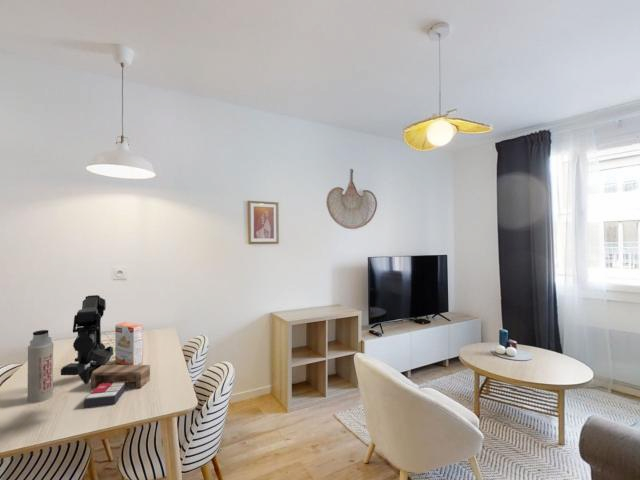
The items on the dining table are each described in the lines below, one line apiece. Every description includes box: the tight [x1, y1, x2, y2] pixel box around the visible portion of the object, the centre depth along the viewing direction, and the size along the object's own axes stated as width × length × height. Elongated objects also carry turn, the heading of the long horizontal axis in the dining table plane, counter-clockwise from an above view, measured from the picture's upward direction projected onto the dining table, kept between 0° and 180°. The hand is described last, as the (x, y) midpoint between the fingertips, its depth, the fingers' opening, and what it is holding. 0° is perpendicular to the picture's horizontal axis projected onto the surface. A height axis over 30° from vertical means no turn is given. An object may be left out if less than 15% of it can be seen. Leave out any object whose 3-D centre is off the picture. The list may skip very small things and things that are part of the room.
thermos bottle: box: [27, 329, 54, 404], centre depth 131 cm, size 8×8×28 cm
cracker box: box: [114, 321, 144, 365], centre depth 168 cm, size 14×6×21 cm, turn 68°
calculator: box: [83, 381, 128, 409], centre depth 133 cm, size 11×4×15 cm
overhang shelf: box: [90, 364, 151, 390], centre depth 144 cm, size 22×8×7 cm, turn 92°
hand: (86, 383), depth 122 cm, fingers closed
